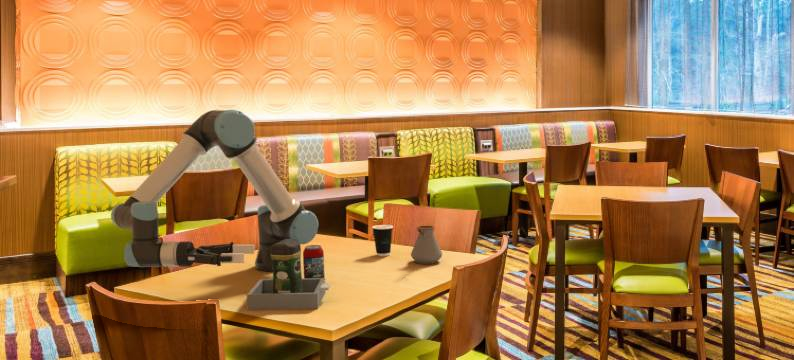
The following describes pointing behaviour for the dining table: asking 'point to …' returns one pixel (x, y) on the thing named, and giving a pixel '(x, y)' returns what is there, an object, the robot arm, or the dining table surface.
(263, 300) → the tray
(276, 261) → the coffee jar
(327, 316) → the dining table surface
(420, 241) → the coffee pot
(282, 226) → the robot arm
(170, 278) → the dining table surface
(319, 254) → the beverage can
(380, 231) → the dixie cup
